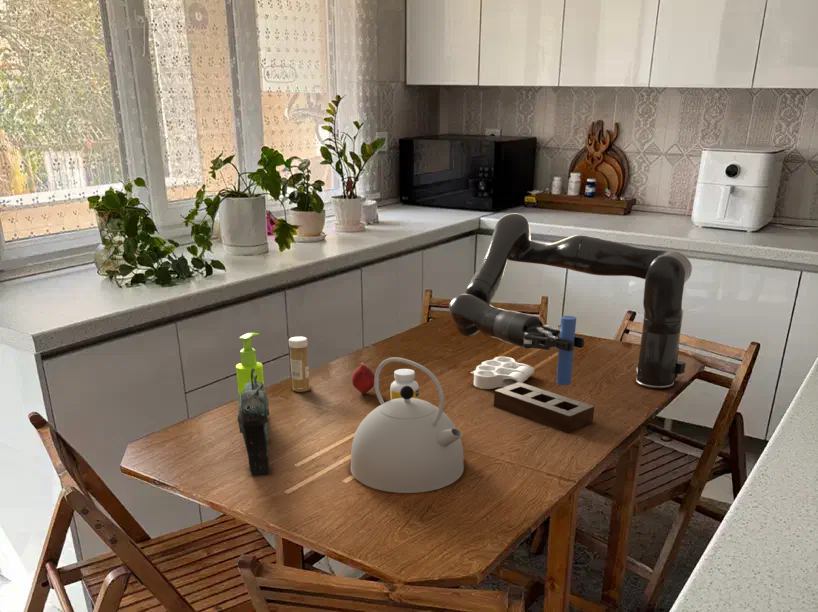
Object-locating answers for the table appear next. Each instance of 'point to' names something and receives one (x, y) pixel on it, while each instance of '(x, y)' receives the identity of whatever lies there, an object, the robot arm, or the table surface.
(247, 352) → the soap dispenser
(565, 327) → the peg
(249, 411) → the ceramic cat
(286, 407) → the table surface
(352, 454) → the kettle
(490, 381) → the white multi-cup tray
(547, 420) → the rack
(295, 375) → the sprinkles bottle
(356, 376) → the onion
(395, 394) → the pill bottle
